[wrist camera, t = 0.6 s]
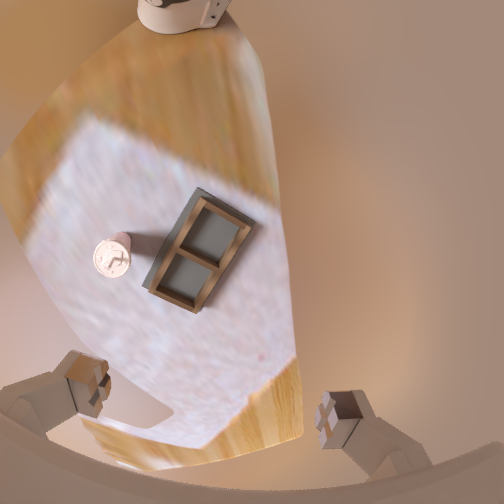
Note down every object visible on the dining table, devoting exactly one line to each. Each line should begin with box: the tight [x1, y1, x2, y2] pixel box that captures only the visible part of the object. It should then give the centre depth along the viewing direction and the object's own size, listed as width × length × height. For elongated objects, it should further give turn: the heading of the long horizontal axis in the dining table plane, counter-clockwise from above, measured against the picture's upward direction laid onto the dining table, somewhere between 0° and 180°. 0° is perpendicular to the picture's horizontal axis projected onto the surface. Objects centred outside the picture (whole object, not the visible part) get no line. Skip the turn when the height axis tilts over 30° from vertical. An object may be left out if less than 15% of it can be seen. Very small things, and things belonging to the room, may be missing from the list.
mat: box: [142, 188, 256, 312], centre depth 55 cm, size 22×13×1 cm, turn 146°
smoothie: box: [94, 232, 131, 278], centre depth 44 cm, size 6×6×14 cm
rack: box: [148, 196, 251, 314], centre depth 53 cm, size 20×10×3 cm, turn 146°
